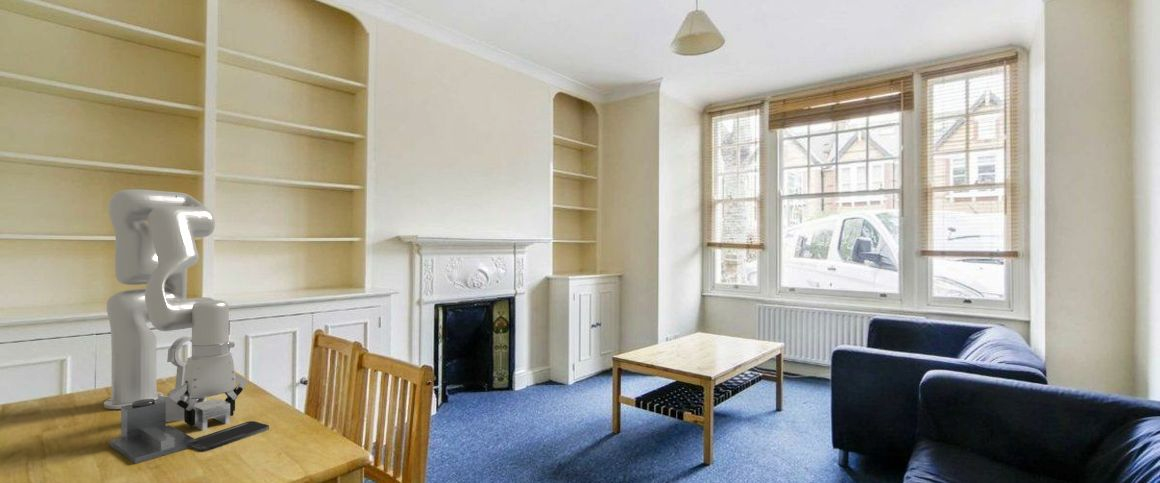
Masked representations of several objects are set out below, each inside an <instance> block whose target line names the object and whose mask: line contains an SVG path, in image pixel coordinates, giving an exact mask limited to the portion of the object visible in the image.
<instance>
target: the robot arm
mask: <svg viewBox="0 0 1160 483" xmlns="http://www.w3.org/2000/svg"><path fill="white" fill-rule="evenodd" d="M108 214H109V220H110V222H111V224H112V228H113V231H114V234H115V242H114V243H115V244H114V248H115V249H114V273H115V278H116V280H117V281H118V283H120V284H122V285H132V286H133V285H134V286H135V285H146V286H145V288H137V289H127V290H122V291H118V292H116V293H114V294H112V295H110V297H109V298H108V299H107V301H106V313H107V317H108V320H109V327H110V333H111V334H110V337H111V345H110V346H111V348H110V350H111V397H110V398H108V399H107V400H105V401H104V402H103V407H104V408H105V409H109V410H121V407H122V406H127V405H132V403H133V402H135V401H139V400H143V399H158V394H160V395H161V396H164V392H161V391H157V335H155V333H154V331H153V330H151V328H149V327H148V326H147V324H148V323H151V324H152V327H154V328H155V329H156V330H158V331H161V332H169V331H170V332H171V331H178V330H184V329H191V336H192V342H191V356H189V357H187V359H186V361H187V362H186V361H185V362H186V367H185V373H184V382H183V385H182V386H181V387H180V388H179V389H177V390H176V391H175V392H174V393H172V394H171V395H170V396H169V397H170V399H171V400H173V401H174V402H175V403H176V404H177V405H179V406H180V407H182V408H184V420H183V421H184V423H185V424H186V425H188V426H190V427H195V426H194V425H195V410H194V409H193V406H194V405H195V403H196V402H197V400H198V399H201V398H205V397H206V398H209V397H210V398H211V397H213V396H218V395H223V394H224V395H225V396H226V398H225V399H224V401H226V402H228V403H230V417H233V416H234V413H235V411H236V400H237V399H238V396H240V394H241V393H242V391H243V389H244V388H245V387H246V385H247V383H248V382H249V380H247V378H246V379H245V378H243V377H241V376H239V375H236V369H235V364H234V358H233V354H232V352H230V350H231V348H235V346H236V345H235V341H233V342H231V341H230V339H229V338H230V336H229V335H230V334H229V333H230V331H229V328H230V327H229V326H230V325H229V324H230V322H229V320H230V313H229V312H230V308H229V304H228V302H227V301H225V300H222V299H221V300H219V299H214V298H212V297H206V296H205V297H193V298H192V297H191V298H187V295H188V294H187V292H188V291H187V290H188V289H187V286H188V269H189V268H191V267H193V266H194V265H196V264H197V263H198V262H199V260H200V255H199V252H198V248H197V245H196V244H197V243H196V241H195V238H206V237H209V236H211V235H212V234H213V233H214V230H215V227H216V224H215V223H216V222H215V217H214V215H213V214H212V212H211V211H210V209H209V208H207V206H205V205H204V204H203V203H202V202H200V201H199V200H197V199H196V198H194V197H193V196H191V195H190V194H188V193H184V192H177V191H165V190H153V189H138V188H135V189H133V188H132V189H122V190H119V191H116V192H115V193H114V194H113V195H112V196H111V197H110V201H109V203H108ZM236 382H237V386H236ZM182 394H183V395H184V396H187V399H186V400H185V402H184V401H183V400H182V399H181V398H180V396H181V395H182Z"/></svg>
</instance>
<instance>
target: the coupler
mask: <svg viewBox="0 0 1160 483" xmlns="http://www.w3.org/2000/svg"><path fill="white" fill-rule="evenodd" d="M197 443H198V440H196V438H194V437H193V436H191V435H188V434H186V433H185V432H183V431H181V430H179V429H177V428H175V427H173V426H172V425H167V422H166V402H165V401H163V400H161V399H143V400H139V401H135V402H133V403H132V405H127V406H122V407H121V409H120V437H116V438H113V439H109V444H108V446H109V447H111V448H113V449H114V450H115V451H117V452H118V453H120V454H121V455H123V457H125V458H126V459H128V460H129V461H131V462H132V463H133V464H135V465H137V464H139V463H143V462H146V461H149V460H154V459H157V458H160V457H164V456H167V455H171V454H173V453H177V452H182V451H184V450H188V449H192V448H191V444H197ZM163 455H164V456H163ZM159 456H160V457H159ZM153 458H154V459H153Z"/></svg>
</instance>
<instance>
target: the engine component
mask: <svg viewBox="0 0 1160 483" xmlns="http://www.w3.org/2000/svg"><path fill="white" fill-rule="evenodd" d="M187 342H191V343H192V335H184V336H180V337H178V338H177V339H175V340H174V342H173V343H172V345H171V346H170V348H168V351H167V359H166V362H167V363H171V364H172V365H174V367H176V374H175V388H173V389H172V390H170V391H168V392H167V395H163V396H161V395H160V394H158V399H161V400H163V401H165V402H166V423H171V422H182V421H184V408H182V407H180V406H179V405H177V404H176V403H175V402H174V401H173V400H171V399H170V397H169V396H170V395H171V394H172V393H174V392H175V391H176V390H177V389H179V388H180V387H181V386H182V385H183V382H184V373H185V367H186V362H187V360H186V361H185V362H183V361H182V360H181V358H180V355H179V352H180V349H181V347H182V346H183V345H184V344H185V343H187ZM180 398H181V399H182V400H183V401H184V402H185V400H186V399H187V396H184V395H183V394H182V395H181V396H180ZM203 401H207V397H205V398H201V399H198V400H197V402H196V403H199V402H203Z"/></svg>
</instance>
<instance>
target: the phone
mask: <svg viewBox="0 0 1160 483" xmlns="http://www.w3.org/2000/svg"><path fill="white" fill-rule="evenodd" d="M269 429H270V425H269V424H266V423H261V422H259V421H254V420H249V421H245V422H243V423H240V424H236V425H234V426H230V427H227V428H224V429H221V430H218V431H215V432H214V431H213V432H211V433H208V434H205V435H202V436H199V437H195V439H196V440H198V443H197V444H191V448H190V449H192V450H193V449H194V450H196V451H199V452H208V451H212V450H215V449H217V448H221V447H223V446H226V445H229V444H232V443H235V442H238V441H240V440H243V439H247V438H249V437H252V436H255V435H258V434H260V433H264V432H266V431H269Z"/></svg>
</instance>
